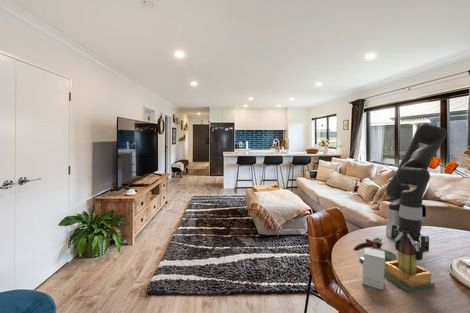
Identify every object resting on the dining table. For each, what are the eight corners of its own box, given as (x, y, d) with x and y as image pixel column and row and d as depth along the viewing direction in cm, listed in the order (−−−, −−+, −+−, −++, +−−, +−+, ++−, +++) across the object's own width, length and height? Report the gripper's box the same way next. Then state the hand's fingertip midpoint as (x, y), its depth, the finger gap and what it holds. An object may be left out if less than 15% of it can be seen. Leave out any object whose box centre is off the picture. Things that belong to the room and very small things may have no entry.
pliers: (369, 252, 118) (388, 239, 131) (352, 245, 125) (372, 233, 138) (369, 257, 118) (388, 244, 131) (352, 251, 125) (372, 238, 138)
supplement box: (383, 290, 90) (385, 258, 89) (361, 284, 94) (363, 253, 93) (383, 280, 97) (385, 251, 96) (363, 275, 100) (364, 246, 100)
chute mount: (359, 260, 113) (359, 249, 112) (383, 257, 116) (383, 246, 116) (407, 291, 90) (407, 277, 89) (434, 286, 93) (435, 273, 93)
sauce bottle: (412, 273, 99) (415, 228, 98) (418, 282, 93) (421, 233, 92) (394, 270, 101) (397, 226, 100) (399, 278, 95) (402, 231, 94)
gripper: (436, 221, 89) (433, 262, 91) (401, 210, 103) (399, 246, 104) (420, 223, 88) (418, 264, 89) (387, 211, 101) (385, 248, 102)
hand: (407, 254), depth 96 cm, fingers open, 8 cm apart
